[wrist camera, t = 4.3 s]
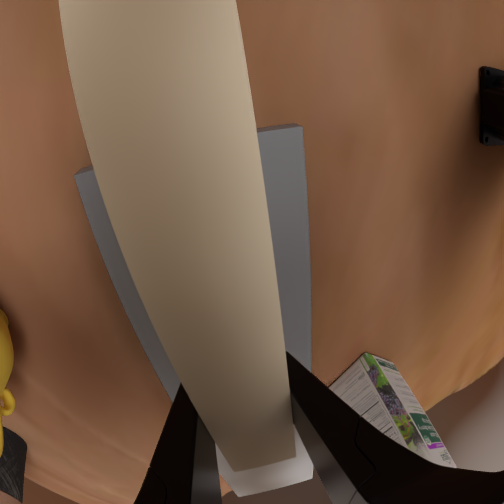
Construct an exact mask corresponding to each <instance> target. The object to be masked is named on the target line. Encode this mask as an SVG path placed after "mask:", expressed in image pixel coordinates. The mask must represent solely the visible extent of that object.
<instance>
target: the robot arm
mask: <svg viewBox="0 0 504 504" xmlns="http://www.w3.org/2000/svg"><path fill="white" fill-rule="evenodd" d="M480 143H481V144H483V145H504V71H502V70H499V69H495V68H491V67H486V66H482V68H481V124H480ZM285 352H286V361H287V370H288V379H289V388H290V397H291V407H292V416H293V424H294V426H295V428H296V430H297V432H298V434H299V436H300V438H301V440H302V442H303V445H304V447H305V449H306V451H307V453H308V455H309V457H310V459H311V461H312V463H313V465H314V467H315V469H316V471H317V473H318V475H319V477H320V479H321V481H322V483H323V485H324V487H325V489H326V491H327V493H328V495H329V497H330V499H331V501H332V503H333V504H504V470H503V471H500V472H483V471H474V470H467V469H459V468H453V467H446V466H442V465H438V464H435V463H433V462H430V461H428V460H426V459H424V458H423V457H421V456H419V455H417V454H416V453H414V452H412V451H411V450H409V449H407V448H406V447H404V446H402V445H401V444H399V443H397V442H396V441H394V440H393V439H391V438H390V437H388V436H387V435H385V434H384V433H382V432H381V431H379V430H378V429H377V428H376V427H374V426H373V425H372V424H370V423H369V422H368V421H367V420H366V419H364V418H363V417H360V415H359V414H358V413H357V412H356V411H355V410H354V409H352V408H351V407H350V406H349V405H348V404H347V403H345V402H344V401H343V400H342V399H341V398H340V397H338V396H337V395H336V394H335V393H334V392H333V391H332V390H330V389H329V388H328V387H327V386H326V385H325V384H324V383H322V382H321V381H320V380H319V379H318V378H317V377H316V376H314V375H313V374H312V373H311V372H310V371H309V370H308V369H307V368H305V367H304V366H303V365H302V364H301V363H300V362H299V361H298V360H297V359H295V358H294V357H293V356H292V355H291V354H290V353H289V352H287V351H285ZM134 504H222V497H221V489H220V481H219V473H218V464H217V455H216V446H215V441H214V440H213V438H212V436H211V435H210V433H209V431H208V430H207V428H206V426H205V424H204V423H203V421H202V419H201V418H200V416H199V414H198V412H197V411H196V409H195V407H194V405H193V403H192V402H191V400H190V398H189V396H188V394H187V392H186V391H185V389H184V387H183V385H182V383H180V385H179V388H178V391H177V393H176V396H175V398H174V401H173V404H172V406H171V409H170V412H169V414H168V417H167V420H166V422H165V425H164V428H163V430H162V433H161V436H160V439H159V441H158V444H157V447H156V449H155V452H154V455H153V458H152V460H151V463H150V467H149V468H148V471H147V474H146V477H145V479H144V482H143V484H142V487H141V489H140V491H139V494H138V496H137V498H136V500H135V502H134Z"/></svg>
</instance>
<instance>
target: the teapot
mask: <svg viewBox="0 0 504 504" xmlns="http://www.w3.org/2000/svg"><path fill="white" fill-rule="evenodd" d="M8 325H9V321H8V318H7V316H6V314H5V313H4V312H3V311H2V310H1V309H0V398H1V399H2V400H3V402H4V408H3V407H2V406H1V405H0V457H1V455H2V452H3V444H4V439H3V426H2V417H1V415H2V416H8V415H10V414H11V413H13V411H14V409H15V398H14V396H13V394H12V393H11V391H10V390H9V389H8V388H7V387H5V386H6V384H7V382H8V380H9V377H10V374H11V372H12V368H13V363H14V351H13V345H12V341H11V336H10V333H9V329H8Z"/></svg>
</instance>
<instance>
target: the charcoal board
mask: <svg viewBox="0 0 504 504" xmlns="http://www.w3.org/2000/svg"><path fill="white" fill-rule="evenodd" d="M256 130H257V137H258V144H259V151H260V158H261V165H262V172H263V179H264V186H265V193H266V200H267V208H268V215H269V223H270V230H271V238H272V245H273V253H274V261H275V269H276V277H277V285H278V293H279V301H280V309H281V317H282V326H283V334H284V343H285V351H287V352H289V353H290V354H291V355H292V356H293V357H294V358H295V359H297V360H298V361H299V362H300V363H301V364H302V365H303V366H304V367H305V368H307V369H308V370H309V371H310V372H311V358H312V321H311V268H310V239H309V217H308V199H307V182H306V168H305V154H304V141H303V129H302V126H300V125H297V124H295V123H293V124H285V125H278V126H270V127H263V128H257V129H256ZM74 177H75V180H76V184H77V187H78V190H79V193H80V196H81V200H82V203H83V206H84V209H85V212H86V215H87V217H88V220H89V223H90V226H91V229H92V231H93V234H94V237H95V240H96V242H97V245H98V248H99V250H100V253H101V255H102V258H103V260H104V263H105V265H106V268H107V270H108V273H109V275H110V278H111V280H112V282H113V285H114V287H115V289H116V292H117V294H118V296H119V298H120V301H121V303H122V305H123V307H124V310H125V312H126V314H127V316H128V318H129V320H130V322H131V325H132V327H133V329H134V331H135V333H136V335H137V337H138V339H139V341H140V343H141V345H142V347H143V349H144V351H145V353H146V355H147V357H148V359H149V361H150V362H151V364H152V366H153V368H154V370H155V372H156V374H157V376H158V377H159V379H160V381H161V383H162V385H163V386H164V388H165V390H166V392H167V393H168V395H169V397H170V399H171V400H172V402H173V401H174V398H175V396H176V393H177V391H178V388H179V385H180V383H181V381H180V379H179V377H178V375H177V373H176V372H175V370H174V368H173V366H172V364H171V362H170V360H169V358H168V356H167V354H166V352H165V350H164V348H163V345H162V343H161V341H160V339H159V337H158V335H157V333H156V331H155V329H154V326H153V324H152V322H151V320H150V318H149V316H148V313H147V311H146V309H145V307H144V304H143V302H142V300H141V297H140V295H139V293H138V290H137V288H136V286H135V283H134V281H133V278H132V276H131V273H130V271H129V269H128V266H127V263H126V261H125V258H124V256H123V253H122V251H121V248H120V245H119V243H118V240H117V237H116V235H115V232H114V229H113V226H112V224H111V221H110V218H109V215H108V212H107V209H106V206H105V203H104V200H103V197H102V194H101V191H100V188H99V185H98V182H97V178H96V175H95V172H94V169H93V166H90V167H86V168H83V169H80V170H79V171H78V172H77V173H76V174H75V175H74Z"/></svg>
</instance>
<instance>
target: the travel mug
mask: <svg viewBox="0 0 504 504" xmlns="http://www.w3.org/2000/svg"><path fill="white" fill-rule="evenodd" d="M3 439H4V444H3V452H2V455H1V457H0V504H22V499H23V483H24V471H25V461H26V451H27V445H26V443H25V441H24V440H23V439H22V438H21V437H19V436H18V435H17V434H15V433H14V432H12V431H10V430H9V429H7V428H5V427H3Z"/></svg>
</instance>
